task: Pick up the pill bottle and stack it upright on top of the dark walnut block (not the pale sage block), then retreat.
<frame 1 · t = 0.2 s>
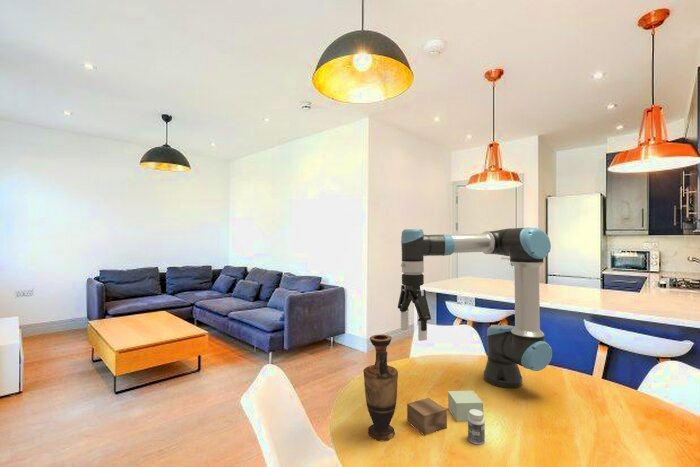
hand: (413, 334, 119), 28 cm above the table, fingers open, 13 cm apart
pill bottle: (476, 440, 103), on the table
walnut block: (426, 424, 112), on the table
sage block: (465, 414, 118), on the table
vase: (381, 434, 107), on the table
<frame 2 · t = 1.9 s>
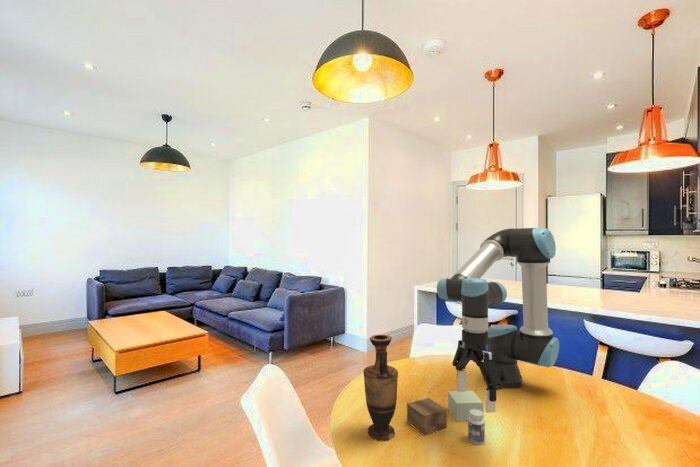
hand: (475, 400, 103), 12 cm above the table, fingers open, 13 cm apart
nothing on the table moved.
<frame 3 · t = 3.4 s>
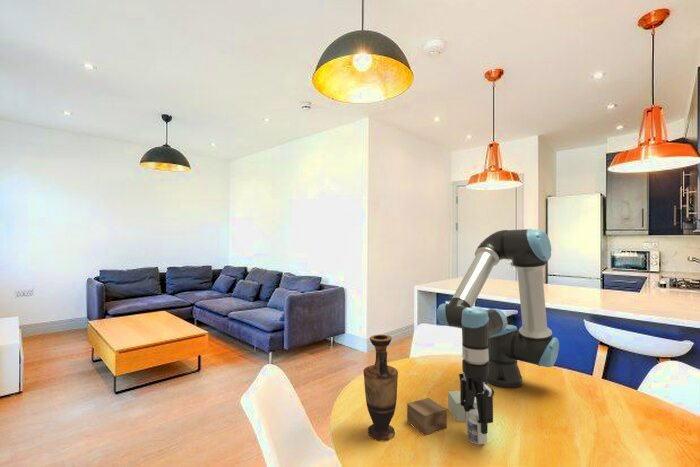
hand: (476, 437, 103), 1 cm above the table, fingers closed on pill bottle, 5 cm apart
pill bottle: (476, 440, 103), on the table, touching gripper
everything else where it was.
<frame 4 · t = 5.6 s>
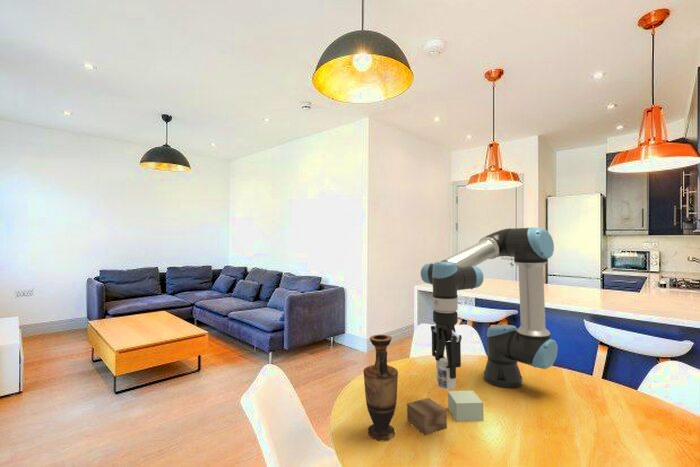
hand: (445, 384, 108), 15 cm above the table, fingers closed on pill bottle, 5 cm apart
pill bottle: (446, 387, 108), point 14 cm above the table, touching gripper
everything else where it was.
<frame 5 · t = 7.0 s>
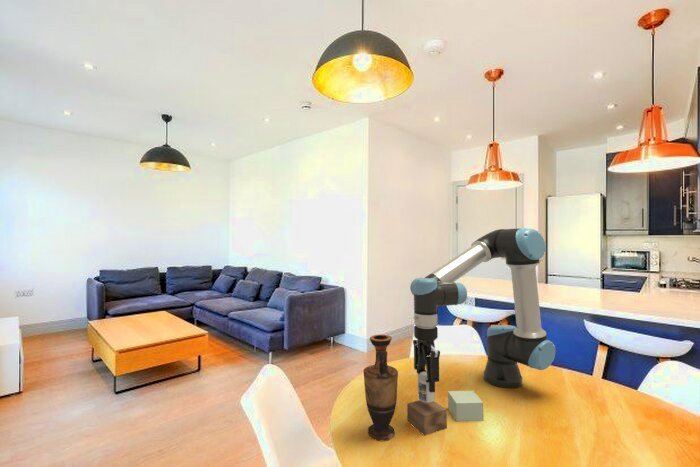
hand: (426, 397, 112), 9 cm above the table, fingers closed on pill bottle, 5 cm apart
pill bottle: (426, 400, 112), point 8 cm above the table, touching gripper
everything else where it was.
when the fingers open (7 cm above the table, at t = 7.9 s): pill bottle stays where it is, resting on walnut block.
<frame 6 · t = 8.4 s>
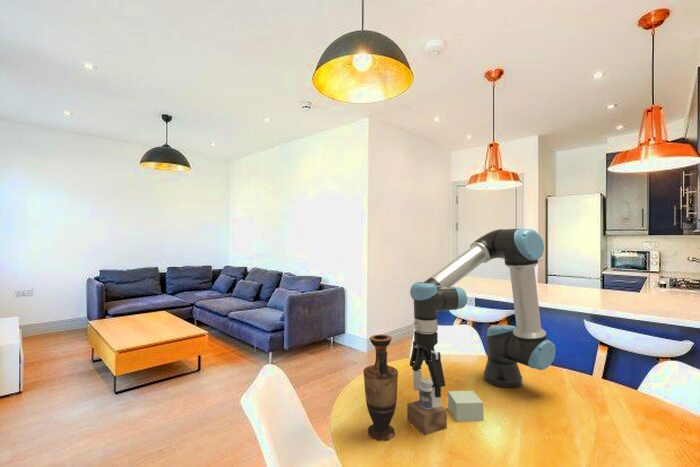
hand: (426, 397, 112), 9 cm above the table, fingers open, 11 cm apart
pill bottle: (426, 407, 112), point 6 cm above the table, touching walnut block
everything else where it was.
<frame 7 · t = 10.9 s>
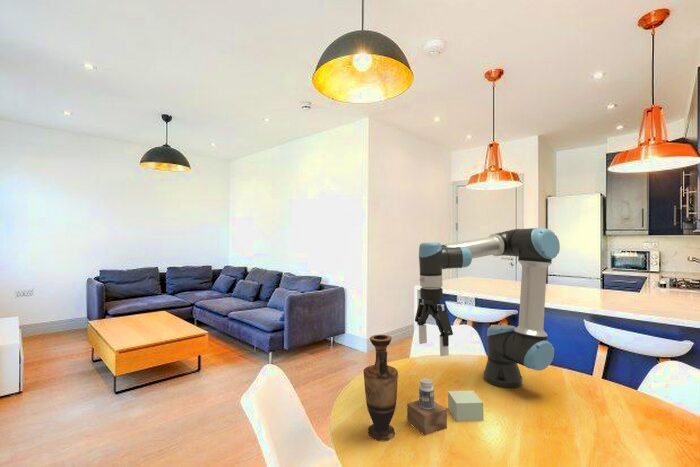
hand: (433, 349, 118), 23 cm above the table, fingers open, 13 cm apart
nothing on the table moved.
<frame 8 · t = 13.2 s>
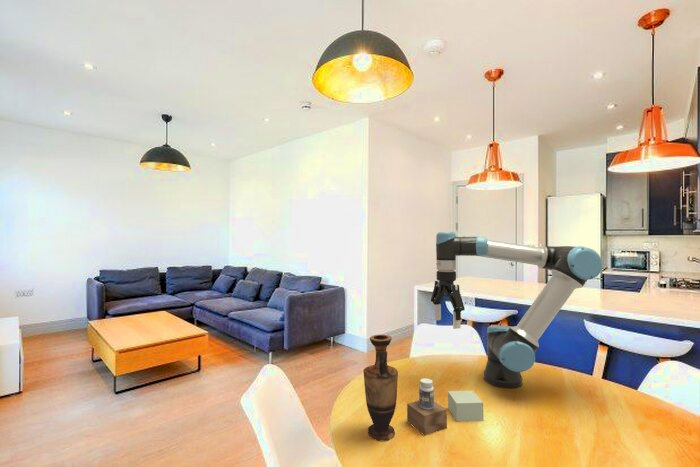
hand: (446, 324, 136), 27 cm above the table, fingers open, 13 cm apart
nothing on the table moved.
at the end: pill bottle inside the target area on the walnut block (0.0 cm from its centre), point 5.8 cm above the walnut block's base; pill bottle tilted 0°; the gripper is holding nothing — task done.
